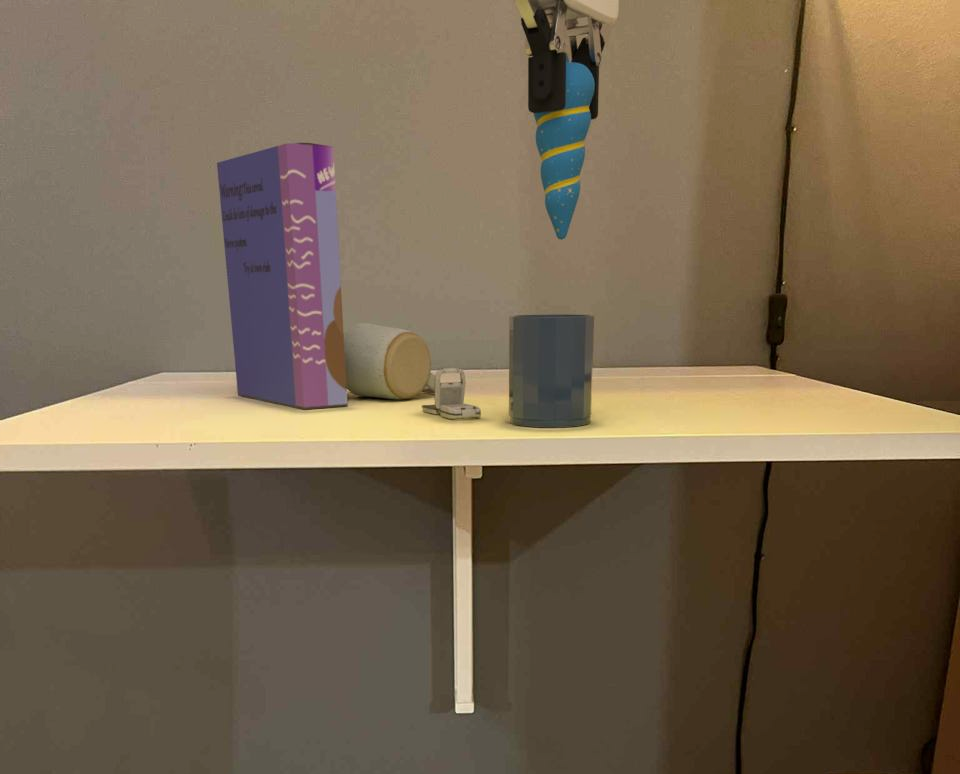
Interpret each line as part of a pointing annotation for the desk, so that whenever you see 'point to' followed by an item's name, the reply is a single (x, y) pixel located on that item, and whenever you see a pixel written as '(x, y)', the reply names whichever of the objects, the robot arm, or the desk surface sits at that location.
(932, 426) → the desk surface
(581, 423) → the cup
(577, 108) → the ornament
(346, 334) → the ceramic mug
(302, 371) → the cereal box
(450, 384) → the strap clip
